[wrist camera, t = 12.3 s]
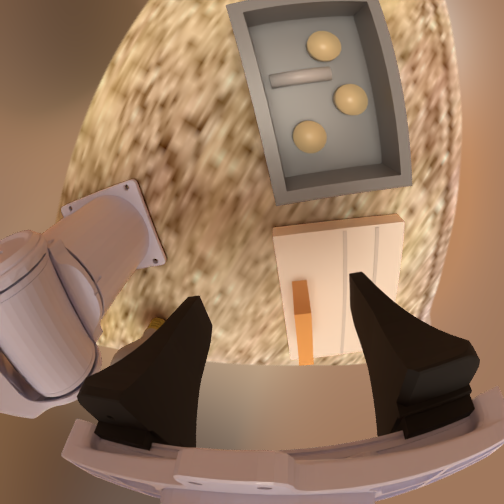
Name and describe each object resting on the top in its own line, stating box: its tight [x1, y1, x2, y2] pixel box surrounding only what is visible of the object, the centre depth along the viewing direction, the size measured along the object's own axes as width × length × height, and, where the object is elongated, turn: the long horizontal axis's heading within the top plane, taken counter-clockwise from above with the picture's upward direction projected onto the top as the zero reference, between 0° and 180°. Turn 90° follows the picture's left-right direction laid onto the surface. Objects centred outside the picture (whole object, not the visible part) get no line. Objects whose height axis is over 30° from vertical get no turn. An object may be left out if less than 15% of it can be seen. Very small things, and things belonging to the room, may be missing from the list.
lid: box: [273, 214, 405, 366], centre depth 22 cm, size 10×14×6 cm
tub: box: [226, 0, 412, 206], centre depth 15 cm, size 9×13×4 cm
